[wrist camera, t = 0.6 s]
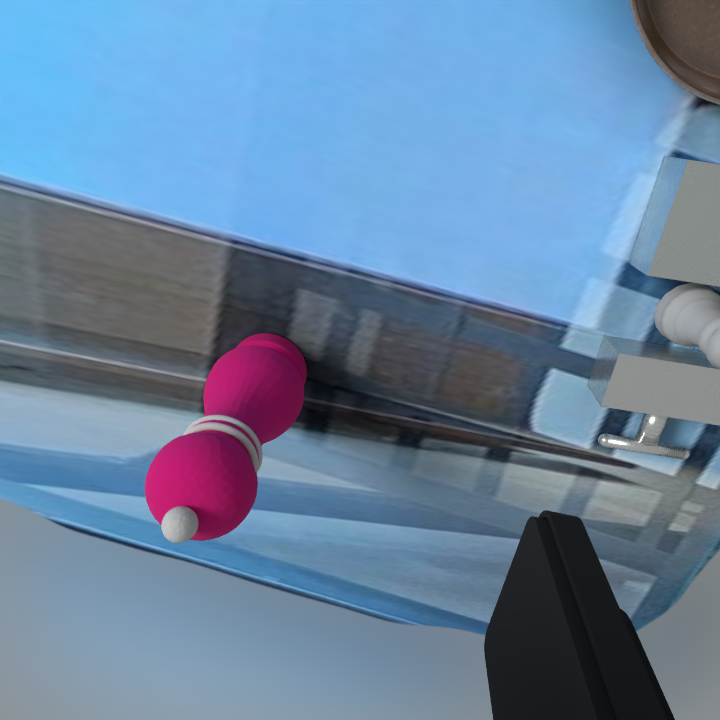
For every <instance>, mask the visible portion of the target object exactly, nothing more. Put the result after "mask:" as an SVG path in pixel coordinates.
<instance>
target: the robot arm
mask: <svg viewBox="0 0 720 720" xmlns="http://www.w3.org/2000/svg"><path fill="white" fill-rule="evenodd" d="M484 651H485V660H486V668H487V676H488V683H489V691H490V697H491V705H492V713H493V720H675V719H674V717H673V714H672V712H671V710H670V708H669V705H668V703H667V701H666V699H665V696H664V694H663V692H662V689H661V687H660V685H659V683H658V681H657V678H656V676H655V674H654V671H653V669H652V667H651V665H650V662H649V660H648V658H647V656H646V653H645V651H644V649H643V647H642V644H641V642H640V640H639V638H638V635H637V633H636V631H635V628H634V626H633V624H632V622H631V620H630V619H629V617H628V615H627V614H626V613H625V612H624V611H623V610H621V609H620V608H619V606H618V604H617V601H616V599H615V597H614V594H613V592H612V590H611V587H610V585H609V583H608V580H607V578H606V576H605V573H604V571H603V569H602V566H601V564H600V562H599V559H598V557H597V555H596V552H595V550H594V548H593V545H592V543H591V541H590V538H589V536H588V534H587V531H586V529H585V527H584V525H583V522H582V521H581V519H580V518H578V517H576V516H571V515H566V514H561V513H556V512H551V511H547V510H545V511H543V512H542V513H541V514H540V516H539V518H537V517H533V516H532V517H530V518H529V519H528V521H527V523H526V526H525V529H524V531H523V534H522V537H521V539H520V542H519V545H518V547H517V550H516V553H515V556H514V558H513V561H512V564H511V566H510V569H509V572H508V574H507V577H506V580H505V582H504V585H503V588H502V591H501V593H500V596H499V599H498V601H497V604H496V607H495V609H494V612H493V615H492V617H491V620H490V623H489V626H488V628H487V631H486V636H485V644H484Z"/></svg>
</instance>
